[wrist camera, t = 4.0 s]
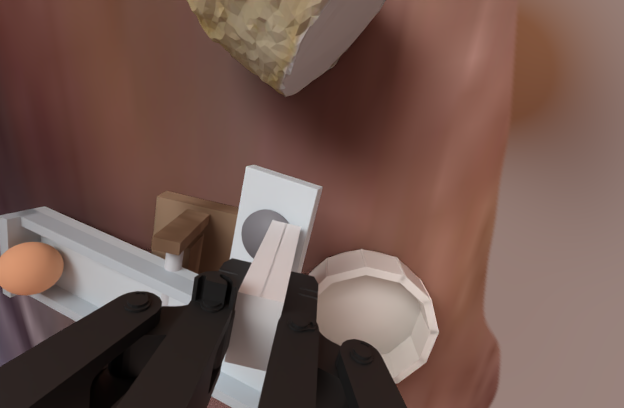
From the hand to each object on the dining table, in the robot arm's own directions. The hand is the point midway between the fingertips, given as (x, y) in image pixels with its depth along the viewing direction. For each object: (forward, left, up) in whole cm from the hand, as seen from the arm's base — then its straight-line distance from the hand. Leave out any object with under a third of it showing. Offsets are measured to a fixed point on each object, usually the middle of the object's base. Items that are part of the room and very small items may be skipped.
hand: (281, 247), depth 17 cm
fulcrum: (-6, -7, -8) cm, 13 cm away
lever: (-8, -4, -4) cm, 10 cm away
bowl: (+7, -7, -8) cm, 13 cm away
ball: (-16, -7, -4) cm, 18 cm away
